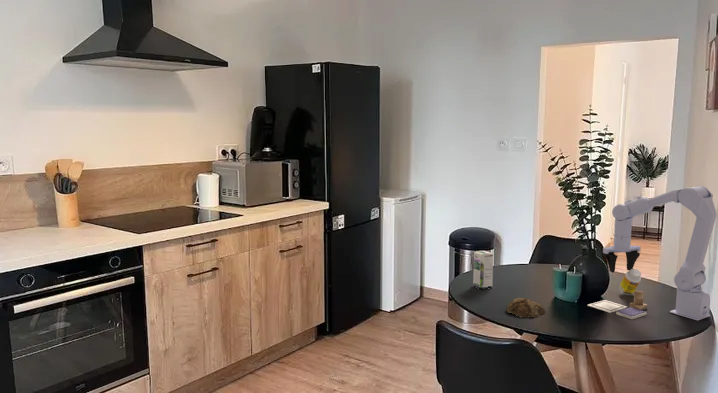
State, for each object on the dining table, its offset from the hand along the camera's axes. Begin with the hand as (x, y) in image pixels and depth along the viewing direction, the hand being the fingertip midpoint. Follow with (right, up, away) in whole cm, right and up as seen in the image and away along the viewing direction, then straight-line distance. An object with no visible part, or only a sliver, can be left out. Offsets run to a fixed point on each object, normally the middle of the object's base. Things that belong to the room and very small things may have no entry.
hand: (620, 271), depth 206 cm
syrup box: (-49, -9, +15) cm, 52 cm away
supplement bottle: (+4, -8, +4) cm, 10 cm away
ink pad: (-5, -13, -18) cm, 23 cm away
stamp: (+1, -12, -12) cm, 17 cm away
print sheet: (-10, -12, -10) cm, 18 cm away
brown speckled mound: (-41, -13, -14) cm, 45 cm away
